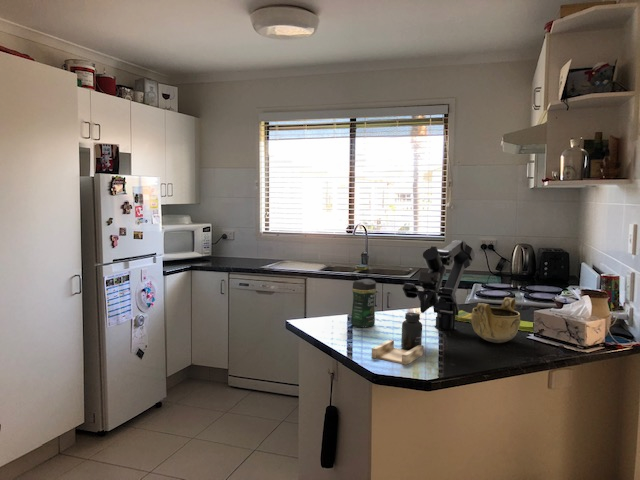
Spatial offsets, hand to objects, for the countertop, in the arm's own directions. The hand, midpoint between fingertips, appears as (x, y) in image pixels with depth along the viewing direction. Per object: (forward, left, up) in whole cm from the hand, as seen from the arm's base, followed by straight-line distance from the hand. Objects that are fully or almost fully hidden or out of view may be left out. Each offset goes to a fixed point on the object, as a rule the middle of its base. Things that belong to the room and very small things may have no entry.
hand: (421, 312), depth 184 cm
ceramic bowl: (-28, +3, -11) cm, 30 cm away
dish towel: (-45, -20, -12) cm, 51 cm away
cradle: (+15, +12, -11) cm, 22 cm away
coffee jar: (+11, -28, -11) cm, 32 cm away
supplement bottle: (+6, +5, -11) cm, 14 cm away
